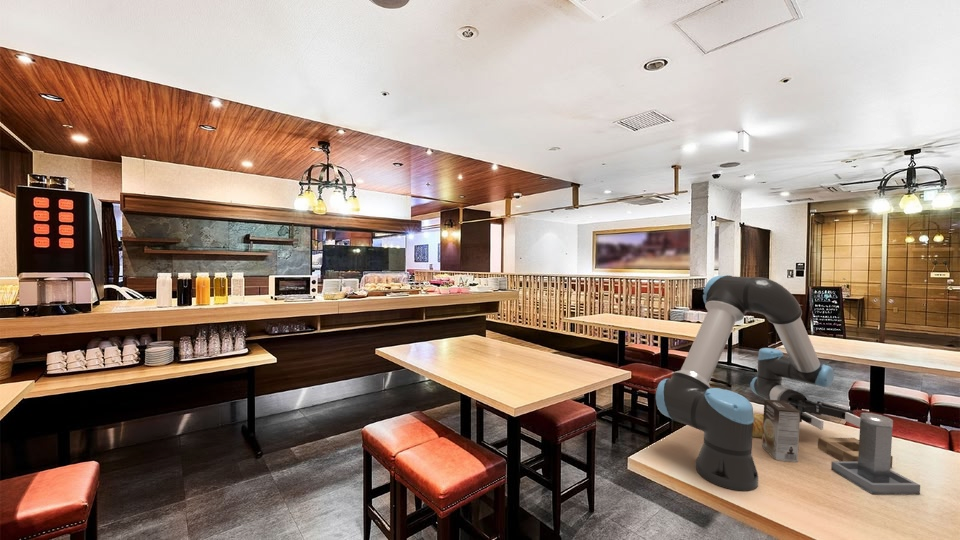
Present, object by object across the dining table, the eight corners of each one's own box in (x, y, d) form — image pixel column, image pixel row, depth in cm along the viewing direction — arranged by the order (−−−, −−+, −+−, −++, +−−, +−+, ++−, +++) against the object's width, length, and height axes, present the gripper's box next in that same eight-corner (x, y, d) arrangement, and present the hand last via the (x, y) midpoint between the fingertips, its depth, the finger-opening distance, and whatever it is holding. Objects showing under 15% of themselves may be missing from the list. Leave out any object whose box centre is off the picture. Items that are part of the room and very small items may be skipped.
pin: (873, 485, 108) (876, 422, 107) (851, 472, 115) (854, 412, 114) (896, 485, 108) (900, 422, 108) (872, 472, 115) (875, 412, 114)
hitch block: (852, 467, 118) (853, 456, 118) (817, 448, 130) (818, 437, 130) (891, 467, 119) (892, 456, 119) (853, 448, 131) (854, 437, 131)
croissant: (735, 447, 138) (744, 432, 134) (717, 423, 146) (725, 408, 142) (789, 442, 140) (800, 428, 136) (768, 419, 149) (777, 404, 145)
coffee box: (760, 446, 131) (762, 398, 131) (782, 448, 130) (784, 400, 129) (775, 460, 122) (777, 409, 122) (799, 462, 121) (801, 411, 120)
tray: (872, 494, 105) (872, 485, 105) (831, 469, 117) (831, 461, 117) (919, 494, 106) (920, 485, 105) (874, 469, 118) (874, 461, 117)
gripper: (822, 409, 142) (884, 437, 121) (753, 409, 141) (803, 437, 120) (823, 389, 141) (885, 413, 120) (754, 388, 141) (804, 412, 120)
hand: (844, 425), depth 120 cm, fingers open, 13 cm apart
